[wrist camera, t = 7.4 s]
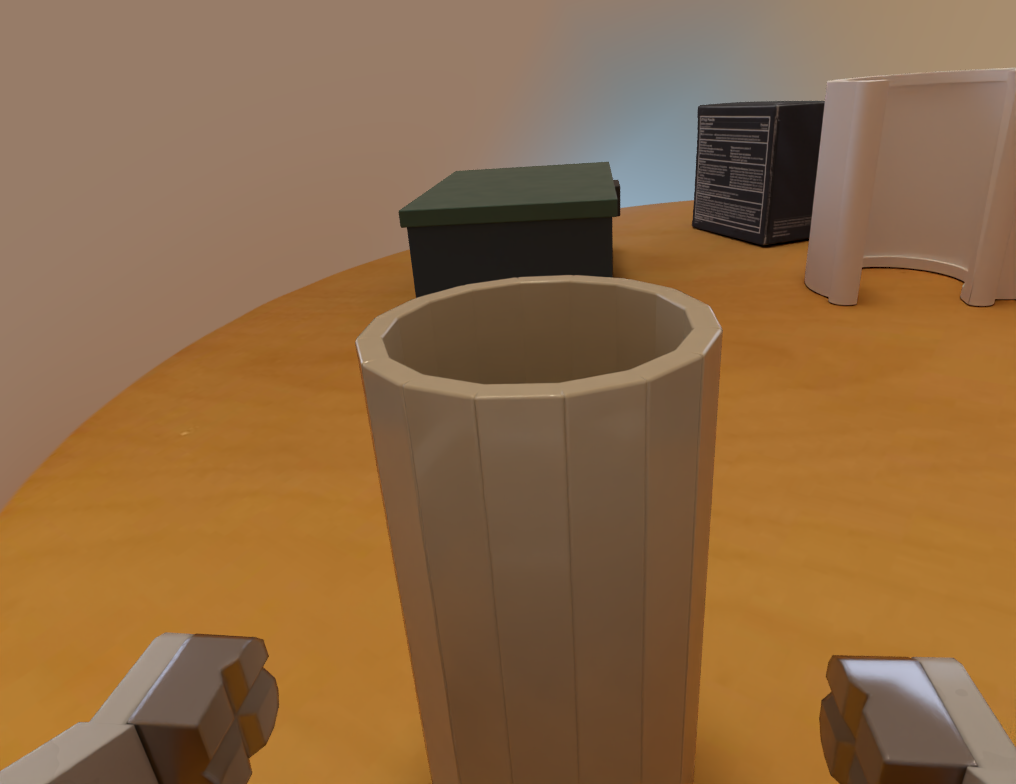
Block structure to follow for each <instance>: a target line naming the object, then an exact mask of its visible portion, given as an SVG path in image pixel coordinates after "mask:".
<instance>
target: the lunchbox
mask: <svg viewBox="0 0 1016 784" xmlns="http://www.w3.org/2000/svg"><path fill="white" fill-rule="evenodd" d="M617 216H620V184H619V181H618V180H613V178H612V173H611V169H610V165H609V162H598V163H582V164H565V165H548V166H532V167H516V168H500V169H485V170H467V171H456V172H454V173H453V174H451V175H450V176H448V177H447V178H445V179H444V180H443V181H441V182H440V183H438V184H437V185H435V186H434V187H432V188H431V189H430V190H428V191H427V192H425V193H424V194H422V195H421V196H420V197H418V198H417V199H415V200H414V201H412V202H411V203H409V204H408V205H407V206H406V207H404V208H402V209H401V210H399V218H400V226H401V227H402V228H404V227H407V230H408V238H409V246H410V254H411V262H412V269H413V277H414V285H415V292H416V298H418V297H421V296H425V295H429V294H432V293H436V292H440V291H443V290H447V289H451V288H454V287H458V286H464V285H467V284H474V283H481V282H488V281H495V280H502V279H509V278H519V277H535V276H560V275H572V276H574V275H581V276H596V277H611V278H613V263H612V217H617Z"/></svg>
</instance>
